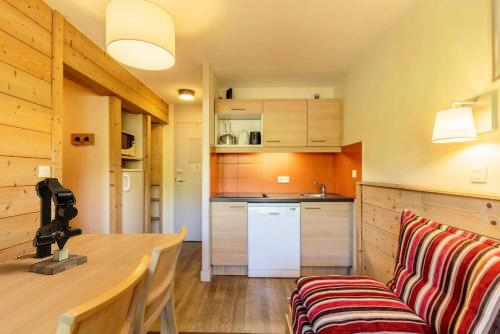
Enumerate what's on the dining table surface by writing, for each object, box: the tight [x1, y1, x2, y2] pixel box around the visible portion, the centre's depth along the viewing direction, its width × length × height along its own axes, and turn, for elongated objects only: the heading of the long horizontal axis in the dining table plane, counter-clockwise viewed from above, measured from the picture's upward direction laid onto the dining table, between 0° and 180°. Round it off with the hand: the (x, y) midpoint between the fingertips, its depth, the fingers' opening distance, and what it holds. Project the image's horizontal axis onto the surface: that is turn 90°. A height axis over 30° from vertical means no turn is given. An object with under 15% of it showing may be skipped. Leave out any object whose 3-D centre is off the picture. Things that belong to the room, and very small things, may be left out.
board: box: [30, 253, 88, 276], centre depth 113 cm, size 14×16×3 cm
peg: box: [52, 247, 69, 263], centre depth 114 cm, size 4×4×8 cm
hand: (60, 249), depth 114 cm, fingers closed
